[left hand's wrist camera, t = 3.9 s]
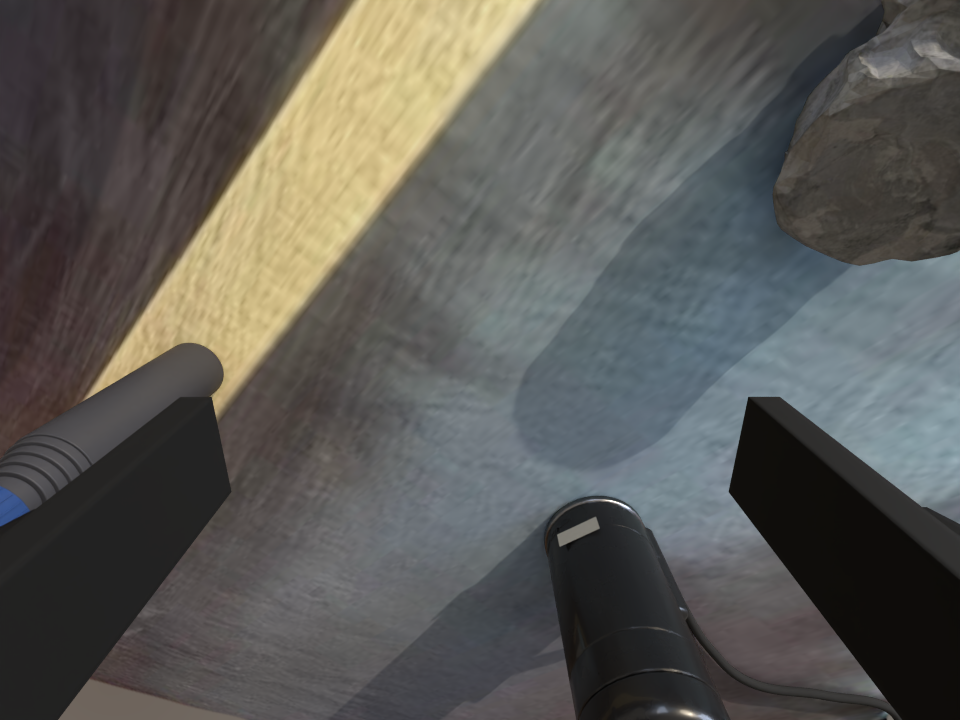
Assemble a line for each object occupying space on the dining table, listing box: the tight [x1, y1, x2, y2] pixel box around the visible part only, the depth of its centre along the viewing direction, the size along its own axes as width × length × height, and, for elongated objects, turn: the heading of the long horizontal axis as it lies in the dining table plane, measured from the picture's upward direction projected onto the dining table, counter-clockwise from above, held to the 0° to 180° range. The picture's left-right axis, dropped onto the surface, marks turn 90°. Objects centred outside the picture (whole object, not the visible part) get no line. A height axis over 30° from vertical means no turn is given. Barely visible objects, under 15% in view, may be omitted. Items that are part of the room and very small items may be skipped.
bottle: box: [0, 343, 223, 511], centre depth 33 cm, size 5×5×20 cm
